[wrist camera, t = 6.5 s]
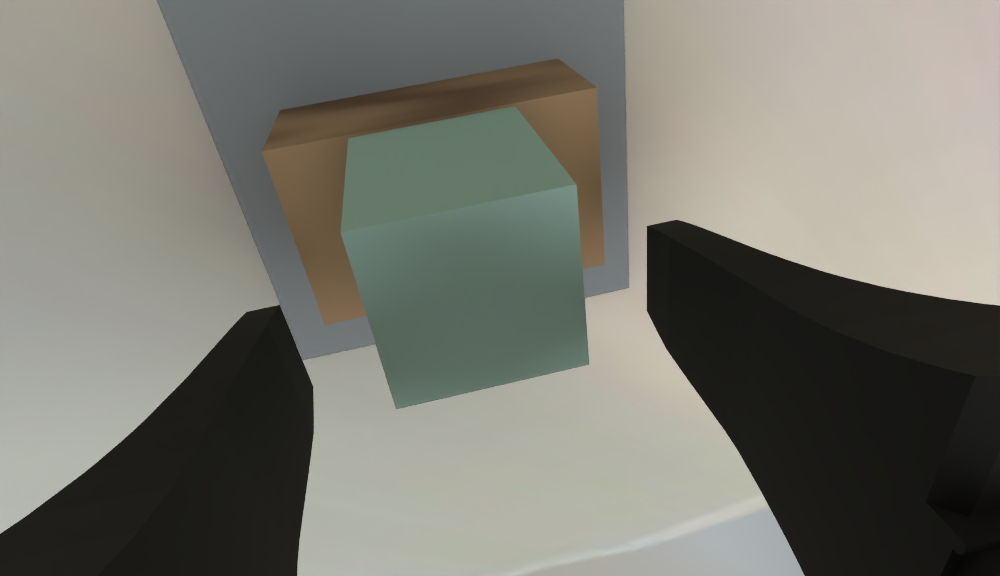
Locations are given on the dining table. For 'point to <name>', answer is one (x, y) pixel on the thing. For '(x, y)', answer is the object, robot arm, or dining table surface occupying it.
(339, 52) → the mat
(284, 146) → the walnut block
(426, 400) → the teal block
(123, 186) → the dining table surface
